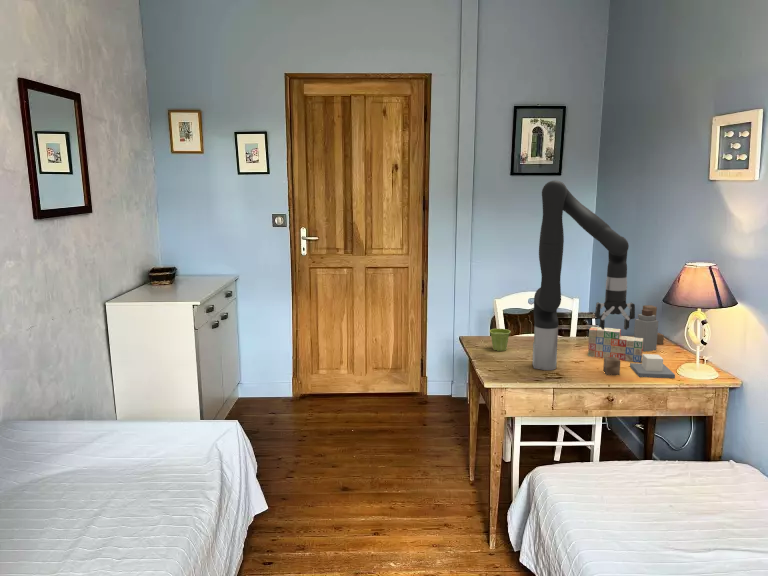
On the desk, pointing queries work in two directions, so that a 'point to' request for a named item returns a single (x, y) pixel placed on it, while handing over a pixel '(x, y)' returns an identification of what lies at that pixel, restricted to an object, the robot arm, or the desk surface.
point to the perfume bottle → (647, 329)
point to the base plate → (651, 373)
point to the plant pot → (499, 338)
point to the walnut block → (611, 366)
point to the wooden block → (659, 336)
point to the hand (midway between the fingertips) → (614, 329)
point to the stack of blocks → (614, 344)
